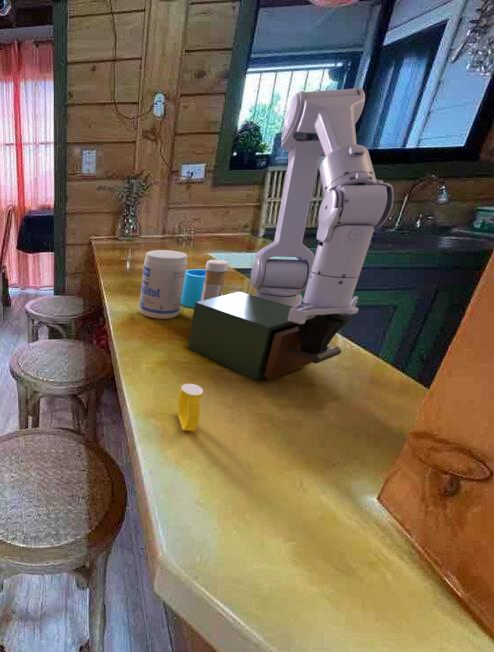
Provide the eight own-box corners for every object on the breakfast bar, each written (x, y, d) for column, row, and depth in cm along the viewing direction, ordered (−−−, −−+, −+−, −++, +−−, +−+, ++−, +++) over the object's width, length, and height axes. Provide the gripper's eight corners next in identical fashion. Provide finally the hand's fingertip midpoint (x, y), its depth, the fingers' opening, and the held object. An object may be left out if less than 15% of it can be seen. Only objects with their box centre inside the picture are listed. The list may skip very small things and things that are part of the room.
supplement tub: (131, 313, 93) (136, 253, 87) (151, 304, 99) (158, 248, 93) (166, 323, 87) (175, 259, 80) (186, 313, 92) (195, 253, 86)
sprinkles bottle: (222, 317, 89) (233, 261, 83) (210, 322, 87) (221, 264, 81) (205, 312, 92) (214, 258, 87) (193, 316, 90) (202, 260, 85)
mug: (214, 309, 94) (220, 277, 91) (180, 307, 96) (184, 276, 93) (209, 295, 105) (214, 266, 101) (178, 293, 107) (182, 265, 103)
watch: (171, 411, 55) (176, 376, 53) (191, 412, 55) (197, 377, 52) (179, 437, 50) (185, 399, 47) (200, 439, 49) (208, 401, 47)
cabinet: (300, 362, 68) (315, 313, 64) (256, 380, 63) (269, 327, 59) (230, 335, 80) (239, 291, 76) (187, 347, 75) (195, 302, 71)
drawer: (341, 374, 62) (356, 331, 59) (300, 393, 57) (314, 347, 54) (242, 336, 77) (250, 300, 73) (202, 348, 72) (209, 310, 69)
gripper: (337, 285, 48) (309, 378, 54) (392, 272, 55) (362, 356, 60) (283, 275, 54) (262, 359, 60) (338, 264, 60) (315, 341, 66)
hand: (309, 357), depth 60 cm, fingers closed, pressing on drawer
